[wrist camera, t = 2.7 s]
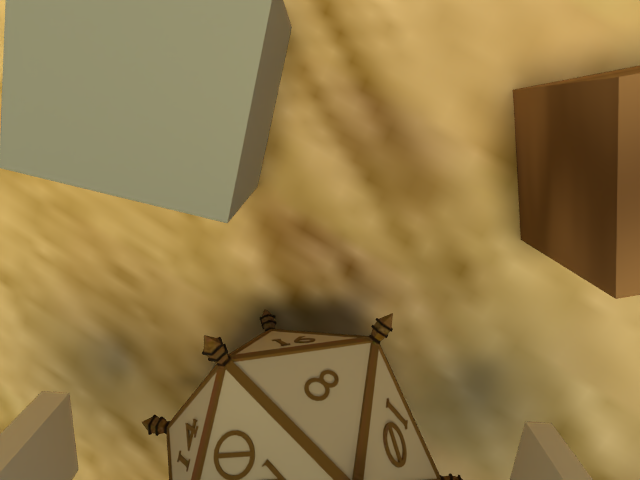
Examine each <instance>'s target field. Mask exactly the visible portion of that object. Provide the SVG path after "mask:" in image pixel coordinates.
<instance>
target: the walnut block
mask: <svg viewBox="0 0 640 480" xmlns="http://www.w3.org/2000/svg"><path fill="white" fill-rule="evenodd" d="M513 98H514V117H515V136H516V155H517V174H518V193H519V212H520V232H521V240H522V241H524V242H526V243H527V244H529V245H530V246H532V247H534V248H535V249H537V250H538V251H540V252H542V253H543V254H545V255H546V256H548V257H550V258H551V259H553V260H554V261H556V262H558V263H559V264H561V265H562V266H564V267H566V268H567V269H569V270H571V271H572V272H574V273H575V274H577V275H579V276H580V277H582V278H583V279H585V280H587V281H588V282H590V283H591V284H593V285H595V286H596V287H598V288H599V289H601V290H603V291H604V292H606V293H607V294H609V295H611V296H612V297H614V298H615V299H617V298H623V297H629V296H635V295H640V66H635V67H630V68H625V69H619V70H614V71H609V72H604V73H599V74H593V75H588V76H583V77H578V78H573V79H567V80H562V81H557V82H552V83H546V84H541V85H536V86H531V87H526V88H520V89H515V90H513Z"/></svg>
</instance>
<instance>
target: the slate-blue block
mask: <svg viewBox="0 0 640 480" xmlns="http://www.w3.org/2000/svg"><path fill="white" fill-rule="evenodd" d="M291 28H292V27H291V24H290V20H289V17H288V14H287V11H286V8H285V5H284V2H283V0H6V6H5V31H4V57H3V82H2V108H1V133H0V168H2V169H6V170H10V171H14V172H18V173H23V174H27V175H31V176H35V177H39V178H43V179H47V180H51V181H56V182H60V183H64V184H68V185H72V186H76V187H80V188H84V189H88V190H93V191H97V192H101V193H105V194H109V195H113V196H117V197H121V198H125V199H130V200H134V201H138V202H142V203H146V204H150V205H154V206H158V207H163V208H167V209H171V210H175V211H179V212H183V213H187V214H191V215H195V216H200V217H204V218H208V219H212V220H216V221H220V222H224V223H228V222H229V221H230V219H231V218H232V217H233V216H234V215H235V213H236V212H237V211H238V210H239V208H240V207H241V206H242V205H243V204H244V202H245V201H246V200H247V199H248V198H249V196H250V195H251V194H252V193H253V191H254V190H255V189H256V188H257V186H258V182H259V177H260V172H261V168H262V163H263V159H264V154H265V149H266V145H267V140H268V135H269V131H270V126H271V121H272V117H273V112H274V107H275V103H276V98H277V93H278V89H279V84H280V79H281V75H282V70H283V65H284V61H285V56H286V52H287V47H288V42H289V38H290V33H291Z"/></svg>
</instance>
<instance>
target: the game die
mask: <svg viewBox="0 0 640 480" xmlns="http://www.w3.org/2000/svg"><path fill="white" fill-rule="evenodd" d="M392 316H393V313H392V314H390V315H387V316H385V317H382V318H380V319H377V318H376V321H377V322H376V323H375V325H372V328H373V329H372V333H371V335H370V336H359V335H345V334H332V333H319V332H305V331H292V330H278V329H275V324H276V321H275V320H274V318H275V316H274V315H272V314H270V313H269V312H268V311H267V310H264V313H263V315H262V317H260V320H261V324H262V327H263V329H265V332H264V333H262V334H261V335H259V336H257V337H256V338H254V339H253V340H251V341H249V342H248V343H246V344H244V345H243V346H241V347H240V348H238V349H236V350H235V351H233V352H232V353H230V354H227V353H228V351H227V347H226V345H225V344H223V342H222V339H221V337H219V338H214V337H209V336H205V335H204V351H203V352H202V354H203V355H207V356H208V357H209V358H208V360H209V361H214V362H216V363H217V365H216V366H215V367H214V368H213V370H212V371H211V372H210V373H209V374H208V376H207V377H206V378H205V379H204V381H203V382H202V383H201V384H200V386H199V387H198V388H197V389H196V390H195V392H194V393H193V394H192V395H191V397H190V398H189V399H188V400H187V402H186V403H185V404H184V405H183V406H182V408H181V409H180V410H179V411H178V413H177V414H176V415H175V416H174V417H173V419H172V420H171V421H168V422H167V421H166V419H164V418H163V417H160V418H159V417H157V416H156V415H154V416H153V417H151V418H149V419H147V420H145V421H143V422H142V423H143V425H144V426H145V427H146V429H147V430H148V433H149V435H151V434H152V433H155V434H156V436H158V435H159V434H162V433H165V434H167V448H168V465H169V480H463V479H461V476H460V475H458V477H456V476H452V474H449V476H441V475H439V473H438V470H437V468H436V466H435V464H434V462H433V459H432V457H431V455H430V453H429V451H428V449H427V446H426V444H425V442H424V440H423V438H422V435H421V433H420V431H419V429H418V427H417V424H416V422H415V420H414V418H413V416H412V413H411V411H410V409H409V407H408V405H407V403H406V400H405V398H404V396H403V394H402V392H401V389H400V387H399V385H398V383H397V381H396V378H395V376H394V374H393V372H392V370H391V368H390V365H389V363H388V361H387V359H386V357H385V354H384V352H383V350H382V348H381V346H380V341H381V340H382V339H384V338H387V337H388V333H389V332H390V331H391V332H392V330H393V329H392V327H391V326H392Z"/></svg>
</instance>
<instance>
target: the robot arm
mask: <svg viewBox="0 0 640 480" xmlns="http://www.w3.org/2000/svg"><path fill="white" fill-rule="evenodd" d="M77 471H78V462H77V454H76V445H75V437H74V428H73V420H72V411H71V403H70V394H69V393H62V392H46V391H42V392H41V393H40V394H39V395H38V396H37V397H36V398H35V399H34V400H33V401H32V402H31V403H30V404H29V405H28V406H27V407H26V408H25V409H24V410H23V411H22V412H21V413H20V414H19V415H18V416H17V417H16V418H15V419H14V421H13V422H12V423H11V424H10V425H9V426H8V427H7V428H6V429H5V430H4V431H3V432H2V433H1V434H0V480H72V479H73V477H74V476H75V474H76V473H77ZM510 480H593V479H592V478H591V477H590V475H589V474H588V473H587V471H586V470H585V468H584V467H583V466H582V464H581V463H580V462H579V460H578V459H577V458H576V456H575V455H574V453H573V452H572V451H571V449H570V448H569V447H568V445H567V444H566V443H565V441H564V440H563V438H562V437H561V436H560V434H559V433H558V432H557V430H556V429H555V427H554V426H553V425H552V423H541V422H525V425H524V429H523V432H522V436H521V440H520V444H519V447H518V451H517V455H516V459H515V462H514V466H513V470H512V474H511V477H510Z"/></svg>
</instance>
